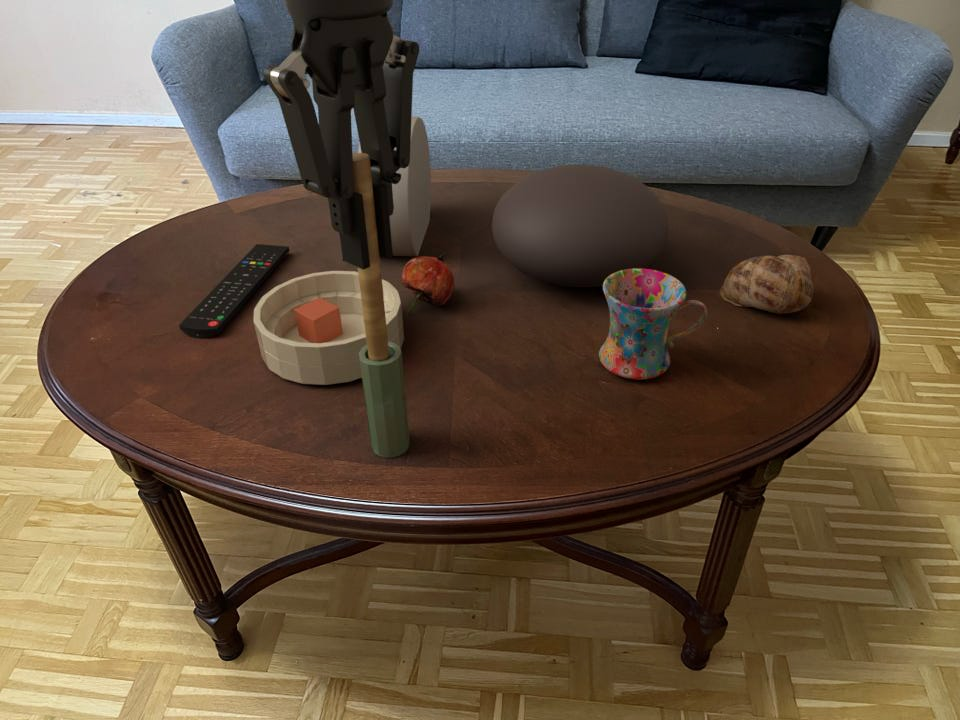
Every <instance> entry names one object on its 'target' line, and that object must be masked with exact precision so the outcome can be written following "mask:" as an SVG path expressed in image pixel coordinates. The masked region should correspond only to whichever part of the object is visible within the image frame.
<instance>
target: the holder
mask: <svg viewBox="0 0 960 720" xmlns="http://www.w3.org/2000/svg"><path fill="white" fill-rule="evenodd" d="M388 347H389V357H390V359H388V360H385V361H380V362H378V361H371V360H369V358H368V349H367V345H366V346H364V347H362V349H361V350H360V352H359V362H360V369H361V376H362V378H361V382H362V391H363V398H364V405H365V413H366V420H367V428H368V436H369V442H370V443H369V444H370V446H371V451H372V452H373V453H374V454H375V455H376V456H378V457H379V458H385V459H392V458H397V457H399V456H402V455H403V454H405V453H406V451H408V449H409V447H410V431H409V430H410V429H409V419H408V408H407V397H406V386H405V376H404V365H403V352H402V349H401V350H400V347H399V346H398V345H396V344H394V343H393V342H388Z"/></svg>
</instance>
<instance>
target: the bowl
mask: <svg viewBox="0 0 960 720" xmlns="http://www.w3.org/2000/svg"><path fill="white" fill-rule="evenodd" d="M382 287H383V297H384V307H385V317H386V327H387V337H388V342H393V343H394V344H396V345H398V346H399V347H400V350H401V351H402V347H403V344H404V340H405V333H404V323H403V322H404V321H403V310H402V300H401V297H400V294H399V291H398V290H397V289H396V288H395V287H394V286H393V285H392V284H391V283H390V282H389V281H388V280H385V279H383V278H382ZM319 297H320V298H322V299H324V300H326V301H328V302H329V303H331V304H333V305H335V306H337V307H339V310H340V317H341V324H342V330H343V334H342V335H340V336H338V337H336V338H334V339H333V340H331V341H329V342H326V343H311V342H309V341H307V340H305V339H304V338H302V337H300V336H299V332H298V327H297V322H296V317H295V312H294V309H296V308H298V307H300V306H302V305H304V304H306V303H308V302H310V301H312V300H314V299H316V298H319ZM252 320H253V325H254V329H255V335H256V339H257V342H258V345H259V351H260V356H261V359H262V360H263V362H264V364H265V365H266V367H267V368H268V370H269V371H271V372H273V373H274V374H276V375H277V376H278V377H280V378H281V379H284V380H287V381H290V382H295V383H298V384H302V385H317V386H318V385H319V386H328V385H335V384H342V383H349V382H353V381H357V380H358V379H362V376H361V369H360V362H359V352H360V350H361V349H362V347H364V346H366V345H367V341H366V333H365V325H364V316H363V308H362V300H361V291H360V283H359V275H358V271H353V270H329V271H319V272H313V273H308V274H304V275H301V276H297V277H294V278H292V279H289V280H287V281H285V282H283V283H281V284H278V285H276V286H274V287H273V288H271V290H269V291H268V292H267V293H265V294H264V295H263V296H261V298H260V299H259V300H258V301H257V304H256V305H255V307H254V309H253V319H252Z"/></svg>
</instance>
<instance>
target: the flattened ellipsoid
mask: <svg viewBox="0 0 960 720" xmlns="http://www.w3.org/2000/svg"><path fill="white" fill-rule="evenodd" d="M491 220H492V222H491V230H492V236H493V239H494V242H495V245H496V246H497V248H498V250H499V251H500V253H501V254H502V256H503V257H504V258H505V259H506V260H507V261H508V262H509V263H510V264H512V265H513V266H514V267H515V268H516V269H518V270H519V271H520V272H522V273H524V274H526V275H528V276H530V277H532V278H534V279H537V280H539V281H541V282H545V283H548V284H552V285H554V286H555V285H556V286H560V287H570V288H594V287H603V283H604V281H605V279H606V278H607V277H608V276H610V275H611V274H613V273H615V272H618V271H621V270H626V269H647V268H648V266H650V265H651V264H652V263H653V262H655V260H656V259H657V258H658V256H659V255H660V254H661V252H662V250H664V248H665V246H666V243H667V240H668V237H669V230H670V228H669V217H668V215H667V212H666V209H665V206H664V204H663V202H662V201H661V199H660V198H659V197H658V196H657V195H656V193H655V192H654V191H653V190H652V189H651V188H650V187H649V186H647V185H646V184H645V183H643V182H641V181H640V180H639V179H637V178H636V177H634V176H632V175H630V174H628V173H625V172H622V171H619V170H616V169H614V168H611V167H607V166H601V165H595V164H579V163H578V164H565V165H557V166H552V167H549V168H545V169H542V170H537V171H535V172H533V173H531V174H529V175H527V176H526V177H524V178H521V179H520V180H519V181H517V182H515V183H514V184H513V185H512V186H511V187H510V188H509V189H507V191H506V192H504V193H503V194H502V195H501V198H500V199H499V201H498V203H497V205H496V206H495V208H494V210H493V214H492V219H491Z"/></svg>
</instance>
